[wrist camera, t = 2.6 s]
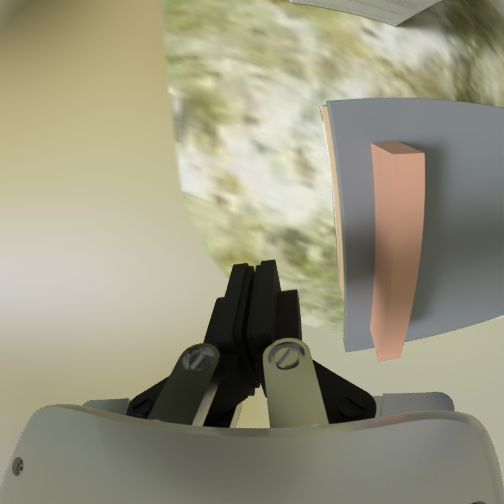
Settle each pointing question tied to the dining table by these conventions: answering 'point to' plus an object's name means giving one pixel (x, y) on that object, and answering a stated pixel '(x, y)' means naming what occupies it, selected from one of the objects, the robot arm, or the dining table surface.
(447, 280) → the lid
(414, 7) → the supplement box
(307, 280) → the dining table surface
